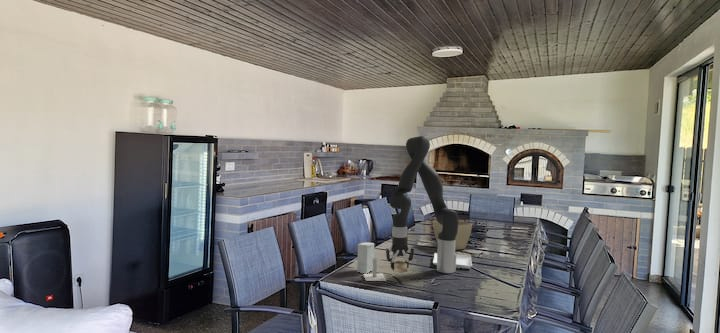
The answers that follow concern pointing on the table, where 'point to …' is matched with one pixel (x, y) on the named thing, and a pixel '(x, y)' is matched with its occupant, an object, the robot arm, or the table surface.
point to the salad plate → (458, 261)
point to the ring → (400, 266)
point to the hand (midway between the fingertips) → (399, 269)
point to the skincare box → (365, 257)
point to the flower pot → (462, 233)
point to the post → (374, 273)
